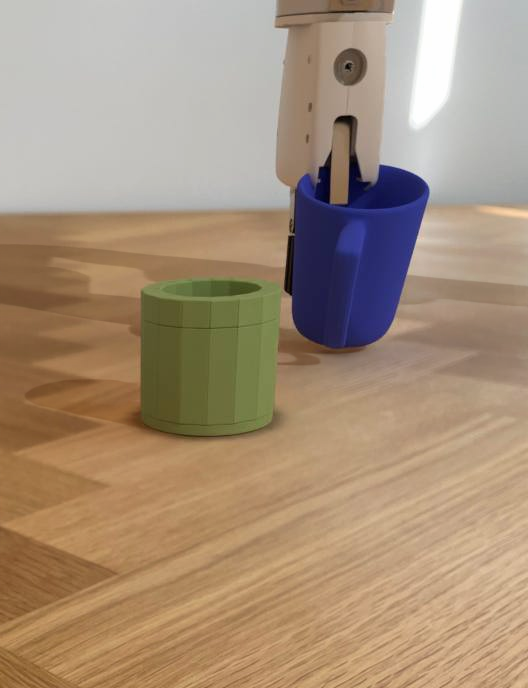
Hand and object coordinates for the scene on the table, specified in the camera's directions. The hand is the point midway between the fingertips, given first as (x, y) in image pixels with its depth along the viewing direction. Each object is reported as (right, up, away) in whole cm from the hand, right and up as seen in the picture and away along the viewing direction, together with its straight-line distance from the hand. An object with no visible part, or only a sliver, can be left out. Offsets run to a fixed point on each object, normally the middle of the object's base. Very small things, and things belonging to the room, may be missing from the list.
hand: (307, 293), depth 76 cm
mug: (+1, -5, -4) cm, 6 cm away
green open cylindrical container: (-10, -13, -17) cm, 24 cm away
